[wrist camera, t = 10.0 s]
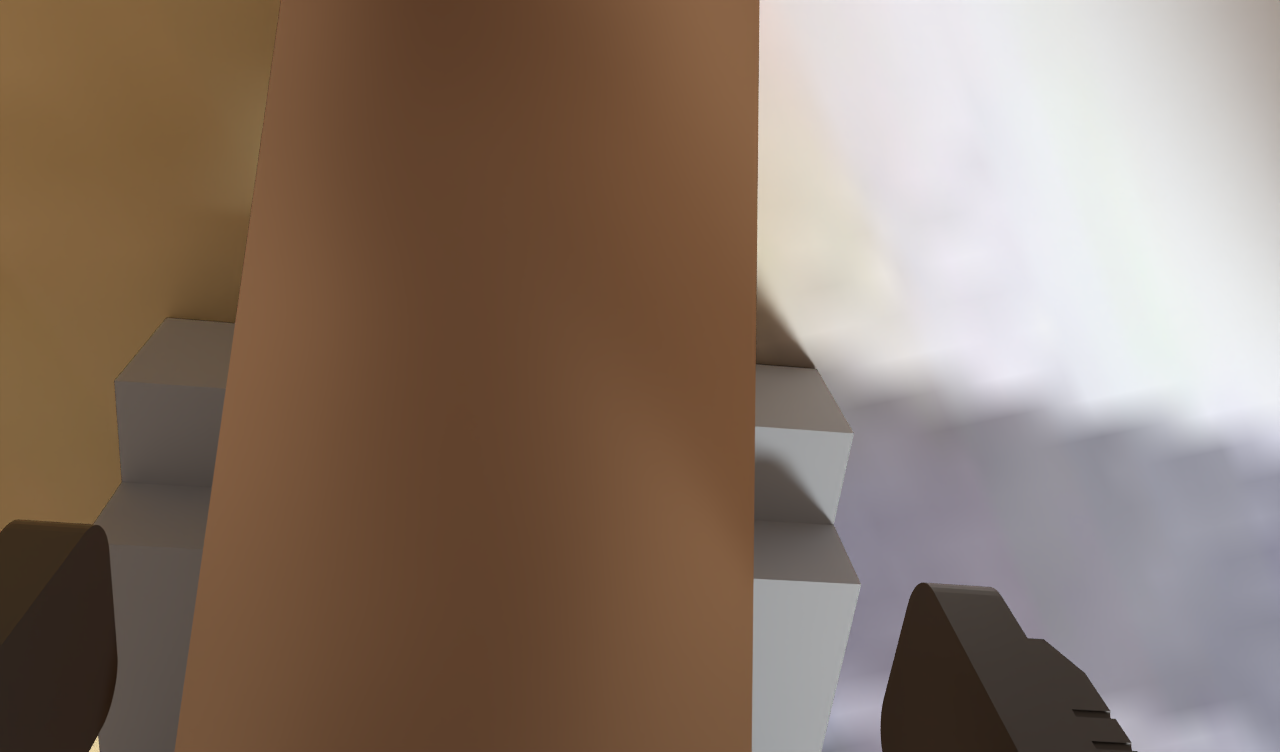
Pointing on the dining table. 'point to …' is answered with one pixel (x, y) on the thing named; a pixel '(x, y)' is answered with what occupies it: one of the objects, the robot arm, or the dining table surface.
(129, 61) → the dining table surface
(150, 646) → the bracket
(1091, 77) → the dining table surface
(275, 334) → the rail
